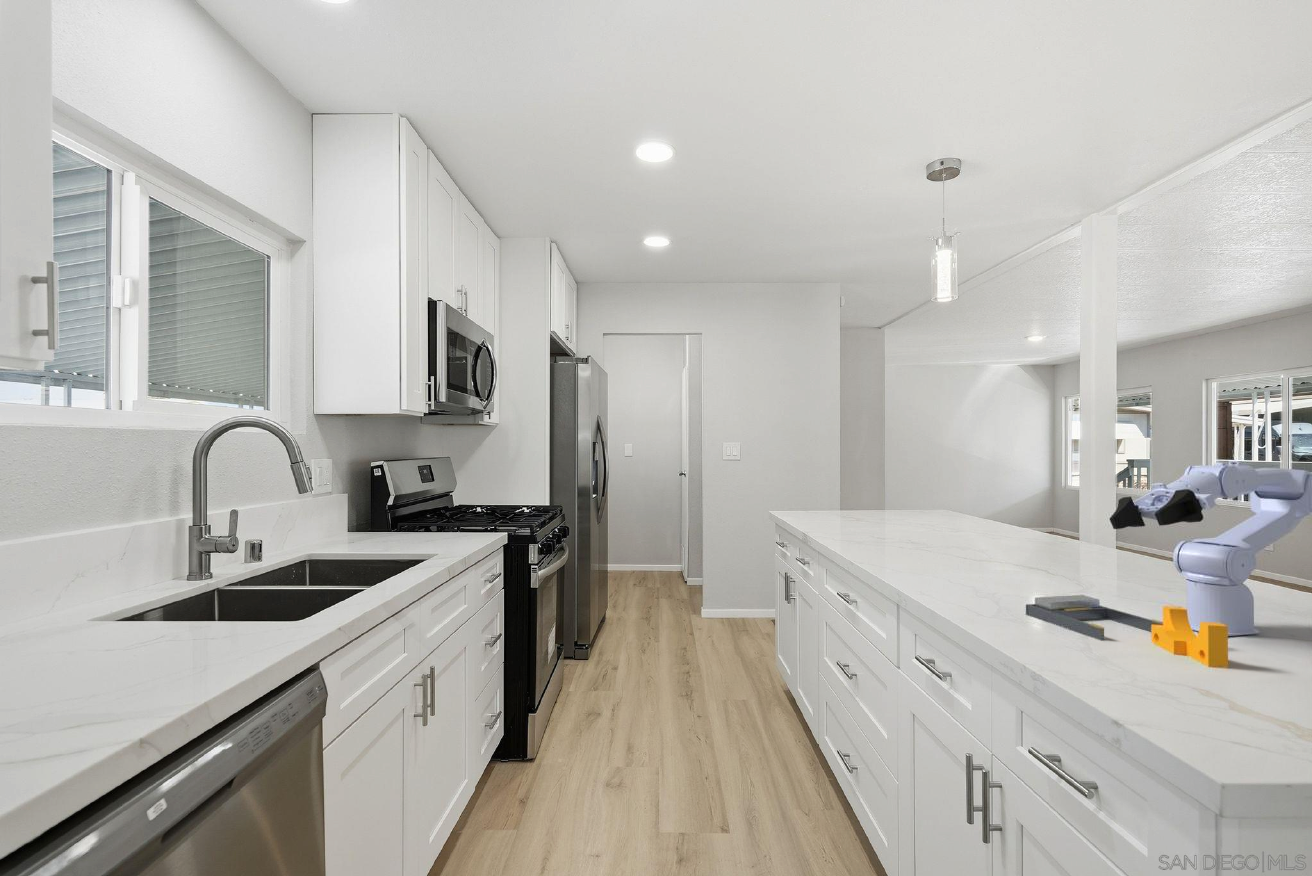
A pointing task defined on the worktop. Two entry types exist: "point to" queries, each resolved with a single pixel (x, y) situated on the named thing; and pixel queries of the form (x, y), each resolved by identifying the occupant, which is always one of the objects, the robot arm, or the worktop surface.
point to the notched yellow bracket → (1192, 638)
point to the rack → (1082, 614)
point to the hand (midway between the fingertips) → (1135, 521)
